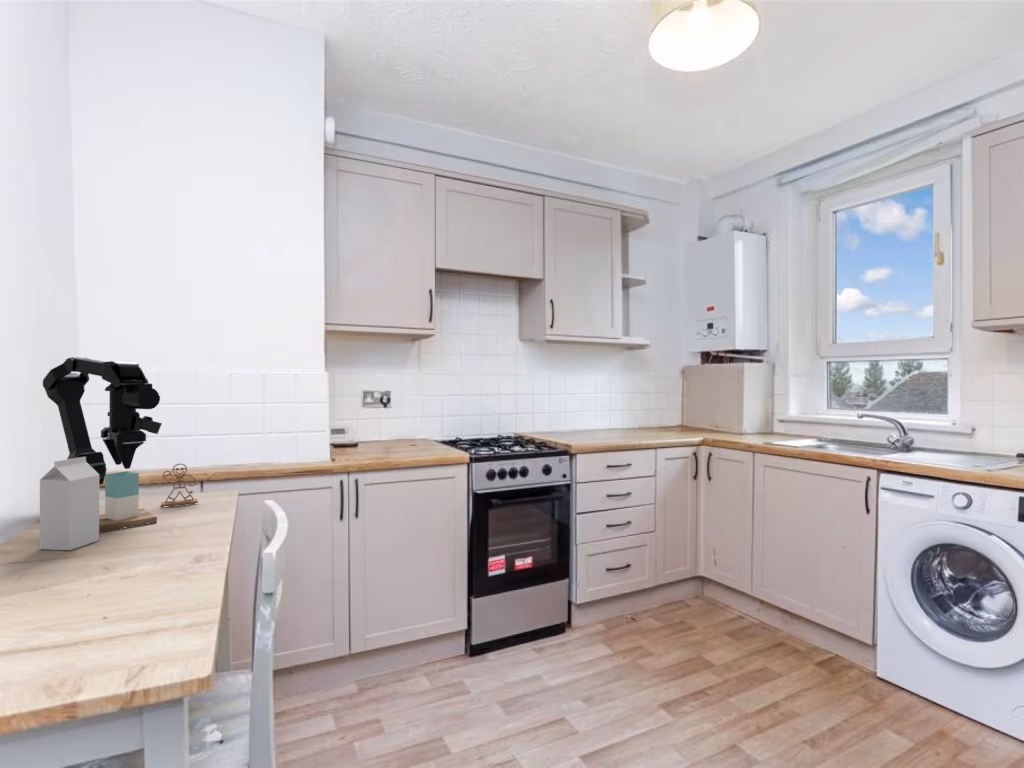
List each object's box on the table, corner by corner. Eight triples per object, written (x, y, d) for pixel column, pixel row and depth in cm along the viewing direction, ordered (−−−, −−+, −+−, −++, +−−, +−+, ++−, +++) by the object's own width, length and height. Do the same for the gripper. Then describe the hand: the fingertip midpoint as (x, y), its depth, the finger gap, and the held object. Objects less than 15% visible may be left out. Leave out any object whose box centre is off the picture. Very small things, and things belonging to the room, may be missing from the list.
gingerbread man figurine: (197, 501, 154) (197, 461, 154) (197, 504, 151) (198, 463, 151) (161, 505, 149) (161, 463, 149) (161, 508, 146) (161, 465, 146)
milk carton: (99, 541, 116) (99, 457, 116) (69, 551, 109) (69, 462, 109) (70, 539, 117) (71, 456, 117) (39, 549, 110) (39, 461, 110)
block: (105, 518, 129) (105, 474, 129) (127, 513, 134) (127, 471, 134) (116, 520, 127) (116, 476, 127) (138, 515, 132) (138, 473, 132)
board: (86, 523, 130) (86, 517, 130) (143, 514, 139) (143, 508, 139) (97, 532, 122) (97, 526, 122) (156, 522, 131) (156, 516, 131)
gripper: (168, 408, 138) (168, 467, 138) (148, 405, 150) (148, 459, 150) (117, 410, 129) (117, 472, 129) (100, 407, 142) (100, 463, 142)
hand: (122, 466), depth 138 cm, fingers open, 9 cm apart
